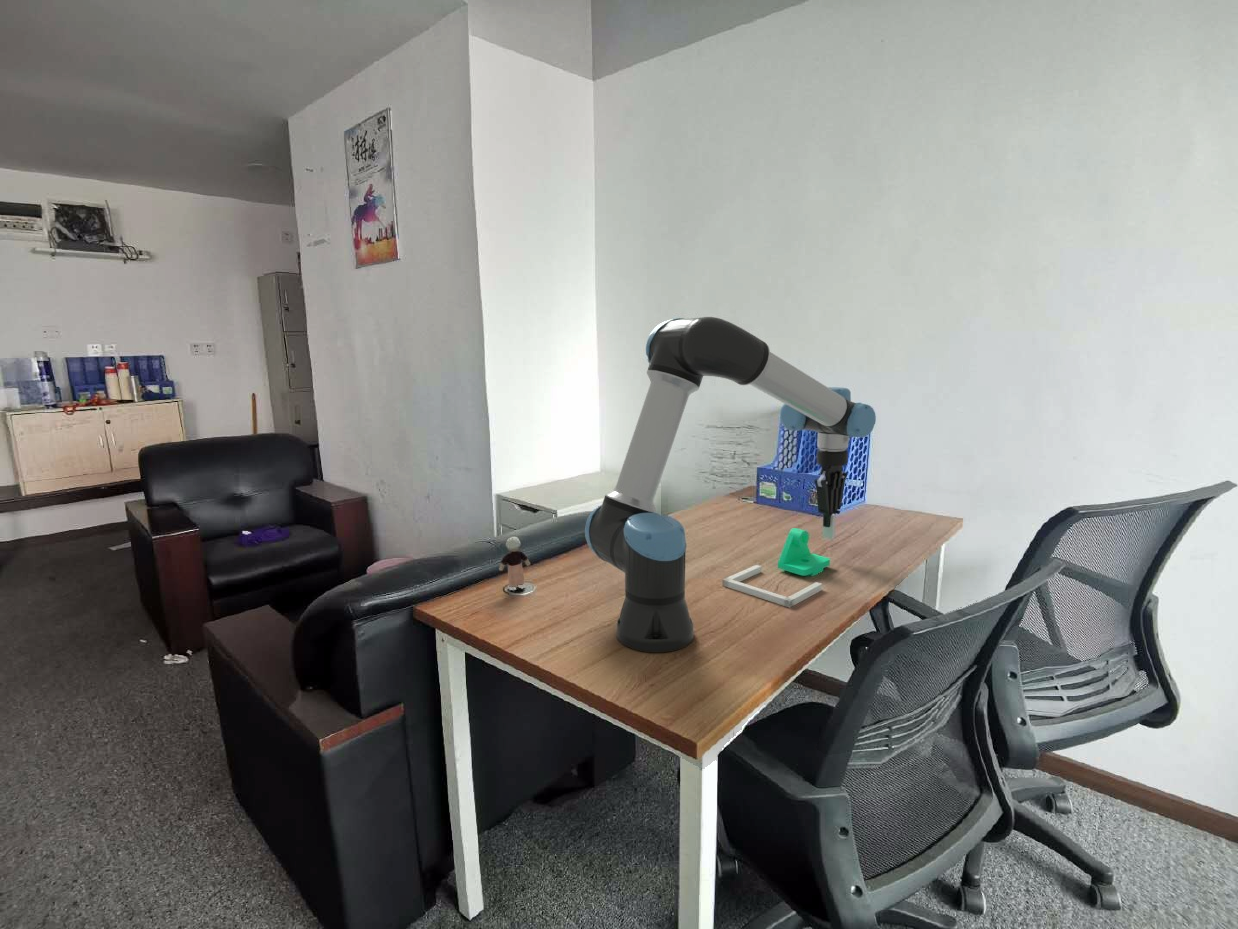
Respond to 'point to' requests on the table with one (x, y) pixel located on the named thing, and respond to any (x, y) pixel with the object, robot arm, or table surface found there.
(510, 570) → the grandmother figurine
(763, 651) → the table surface
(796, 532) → the camera mount
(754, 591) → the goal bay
